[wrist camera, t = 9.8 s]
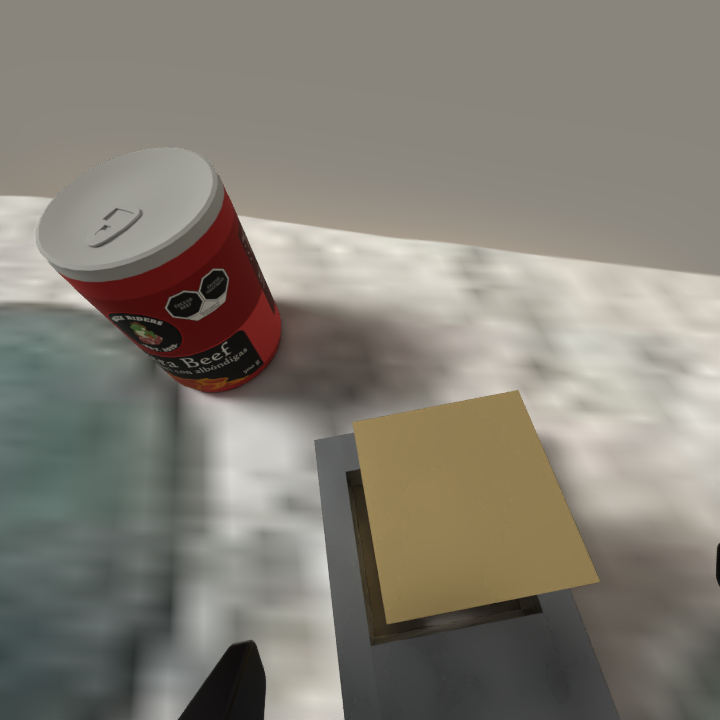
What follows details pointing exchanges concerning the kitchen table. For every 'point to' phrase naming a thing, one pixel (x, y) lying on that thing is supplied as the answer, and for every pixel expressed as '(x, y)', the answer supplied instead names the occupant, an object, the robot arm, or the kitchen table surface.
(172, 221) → the canned food
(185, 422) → the kitchen table surface
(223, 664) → the robot arm
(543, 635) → the grey cinder block
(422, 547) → the tan tall block
